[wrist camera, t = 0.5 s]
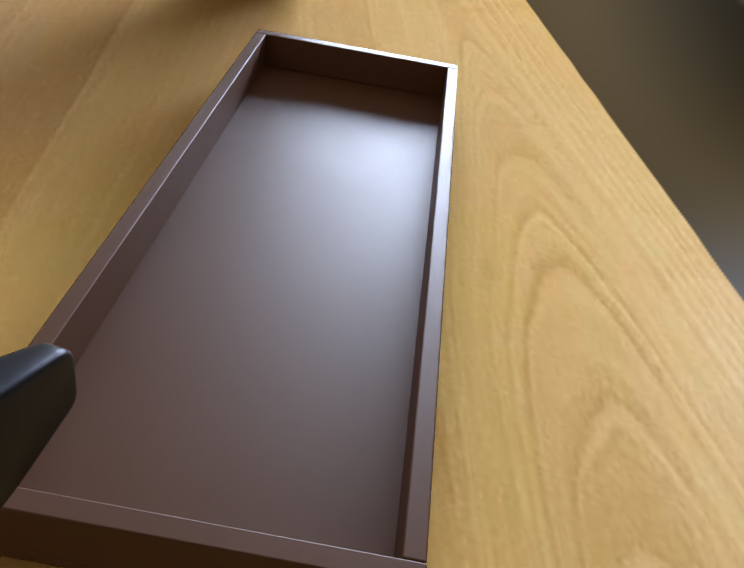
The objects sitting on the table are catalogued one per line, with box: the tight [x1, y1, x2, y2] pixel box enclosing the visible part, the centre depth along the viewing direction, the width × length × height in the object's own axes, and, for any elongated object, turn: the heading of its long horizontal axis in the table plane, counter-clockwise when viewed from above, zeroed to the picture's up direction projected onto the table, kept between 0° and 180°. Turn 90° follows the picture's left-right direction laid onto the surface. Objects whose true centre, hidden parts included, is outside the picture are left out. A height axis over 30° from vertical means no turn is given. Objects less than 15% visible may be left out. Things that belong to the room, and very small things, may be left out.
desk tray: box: [0, 29, 458, 568], centre depth 38 cm, size 42×16×3 cm, turn 173°
